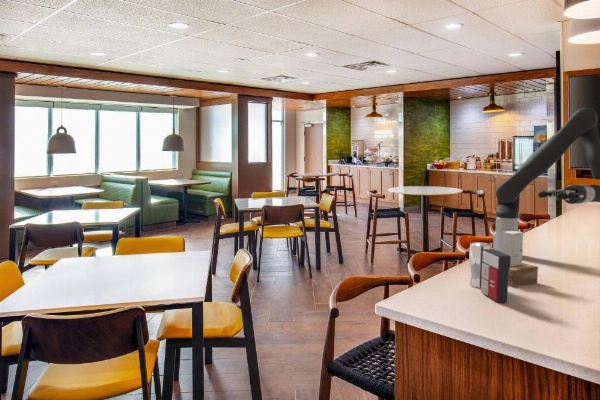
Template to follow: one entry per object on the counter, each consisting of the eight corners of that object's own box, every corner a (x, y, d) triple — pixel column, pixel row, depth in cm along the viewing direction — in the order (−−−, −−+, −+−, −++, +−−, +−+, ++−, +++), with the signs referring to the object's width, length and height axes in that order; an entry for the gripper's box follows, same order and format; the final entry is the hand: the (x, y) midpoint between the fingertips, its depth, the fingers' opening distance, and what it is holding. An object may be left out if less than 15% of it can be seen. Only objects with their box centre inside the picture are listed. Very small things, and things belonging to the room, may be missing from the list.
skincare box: (511, 267, 165) (512, 233, 164) (500, 264, 169) (501, 231, 168) (522, 265, 168) (524, 232, 167) (512, 262, 172) (513, 230, 171)
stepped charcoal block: (479, 292, 155) (480, 249, 154) (491, 292, 156) (493, 248, 154) (496, 303, 144) (497, 256, 143) (509, 302, 145) (510, 255, 143)
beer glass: (488, 283, 165) (490, 242, 164) (490, 289, 159) (491, 246, 157) (468, 282, 168) (469, 241, 166) (468, 287, 161) (469, 245, 160)
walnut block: (486, 279, 172) (486, 263, 171) (509, 275, 177) (509, 259, 176) (513, 287, 161) (514, 270, 160) (537, 283, 166) (537, 266, 165)
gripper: (563, 183, 190) (533, 184, 184) (596, 185, 176) (564, 187, 171) (562, 201, 190) (532, 203, 185) (595, 205, 177) (563, 207, 172)
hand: (548, 195), depth 178 cm, fingers open, 8 cm apart
